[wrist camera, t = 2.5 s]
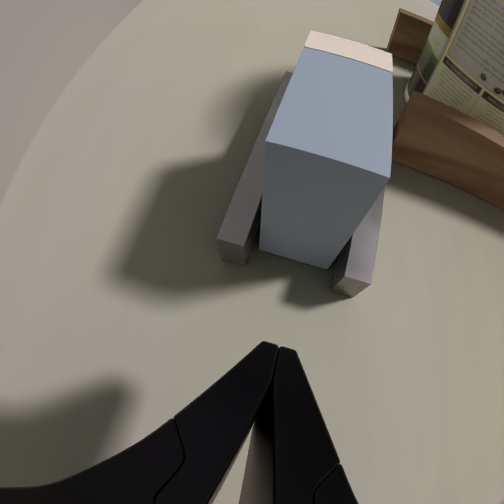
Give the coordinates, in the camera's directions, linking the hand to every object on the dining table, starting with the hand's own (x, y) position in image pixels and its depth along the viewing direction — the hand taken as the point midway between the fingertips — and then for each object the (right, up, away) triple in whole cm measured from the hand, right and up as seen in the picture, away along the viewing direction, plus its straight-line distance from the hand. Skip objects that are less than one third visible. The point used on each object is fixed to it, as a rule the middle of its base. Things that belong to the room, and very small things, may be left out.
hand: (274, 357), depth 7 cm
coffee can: (+16, +13, +13) cm, 24 cm away
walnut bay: (+16, +14, +12) cm, 24 cm away
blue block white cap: (+3, +5, +9) cm, 11 cm away
